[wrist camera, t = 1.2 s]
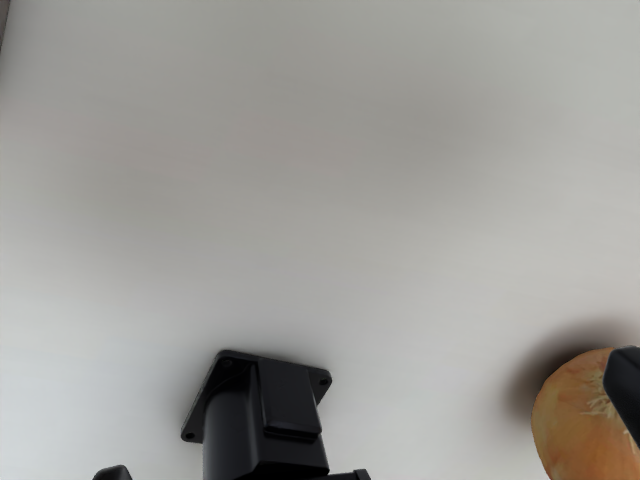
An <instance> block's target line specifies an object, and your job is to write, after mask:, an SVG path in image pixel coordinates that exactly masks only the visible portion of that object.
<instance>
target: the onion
mask: <svg viewBox="0 0 640 480" xmlns="http://www.w3.org/2000/svg"><path fill="white" fill-rule="evenodd" d="M613 349H616V348H613V347H608V348H603V349H594V350H590V351H587V352H585V353H582V354H580V355H578V356H576V357H575V358H573V359H572V360H570V361H569V362H567V363H565V364H563V365H562V366H561V367H559V368H558V369H557V370H556V371H555V372H554V373H553V374H552V375H551V376H550V377H548V378H547V379H546V380H545V382H544V384H543V386H542V388H541V390H540V392H539V393H538V395H537V397H536V400H535V403H534V406H533V410H532V415H531V428H532V433H533V437H534V442H535V445H536V448H537V452H538V454H539V457H540V459H541V461H542V464H543V467H544V469H545V471H546V473H547V475H548V476H549V478H550V479H551V480H640V450H639V448H638V447H637V445H636V443H635V442H634V440H633V438H632V437H631V435H630V433H629V431H628V430H627V428H626V426H625V425H624V423H623V421H622V420H621V418H620V416H619V415H618V413H617V411H616V410H615V408H614V406H613V405H612V403H611V401H610V399H609V398H608V396H607V394H606V393H605V391H604V388H603V384H602V377H603V374H604V370H605V366H606V363H607V359H608V356H609V353H610V352H611V351H612V350H613Z"/></svg>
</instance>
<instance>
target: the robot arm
mask: <svg viewBox="0 0 640 480" xmlns="http://www.w3.org/2000/svg"><path fill="white" fill-rule="evenodd" d="M223 360H229V361H223ZM321 379H323V380H321ZM331 383H332V378H331V374H330V372H329V371H326V370H322V369H317V368H312V367H308V366H303V365H298V364H293V363H288V362H283V361H278V360H274V359H269V358H264V357H259V356H254V355H249V354H244V353H240V352H235V351H230V350H225V351H221V352H220V353H218V354H217V356H216V358H215V360H214V362H213V364H212V366H211V368H210V370H209V372H208V374H207V377H206V379H205V381H204V383H203V385H202V387H201V389H200V391H199V393H198V395H197V397H196V399H195V401H194V403H193V406H192V408H191V410H190V412H189V414H188V416H187V418H186V420H185V422H184V424H183V426H182V428H181V438H182V440H184V441H186V442H193V443H201V444H203V480H371V478H370V476H369V474H368V472H367V471H366V469H358V470H354V471H353V472H349V473H340V474H330V475H328V473H329V471H330V469H329V465H328V461H327V457H326V453H325V449H324V444H323V440H322V436H321V432H322V427H321V423H320V419H319V415H318V411H317V406H318V404H319V403H320V401H321V399H322V398H323V396H324V395H325V393H326V392H327V390H328V388H329V387H330V385H331ZM602 384H603V388H604V391H605V393H606V394H607V396H608V398H609V399H610V401H611V403H612V405H613V406H614V408H615V410H616V411H617V413H618V415H619V416H620V418H621V420H622V421H623V423H624V425H625V426H626V428H627V430H628V431H629V433H630V435H631V437H632V438H633V440H634V442H635V443H636V445H637V447H638V448H639V450H640V348H639V347H636V346H625V347H621V348H616V349H613V350H612V351H611V352H610V353H609V356H608V359H607V363H606V366H605V370H604V374H603V377H602ZM92 480H132V478H131V476H130V474H129V472H128V470H127V468H126V467H125V466H124V465H117V466H113V467H109V468H104V469H102V470H100V471H98V472H97V473H96V475H95V476H94V478H93V479H92Z"/></svg>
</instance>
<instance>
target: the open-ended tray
mask: <svg viewBox="0 0 640 480" xmlns="http://www.w3.org/2000/svg"><path fill="white" fill-rule="evenodd" d="M9 3H10V0H0V51H1V46H2V41H3V35H4V30H5V24H6V19H7V14H8V8H9Z"/></svg>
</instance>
